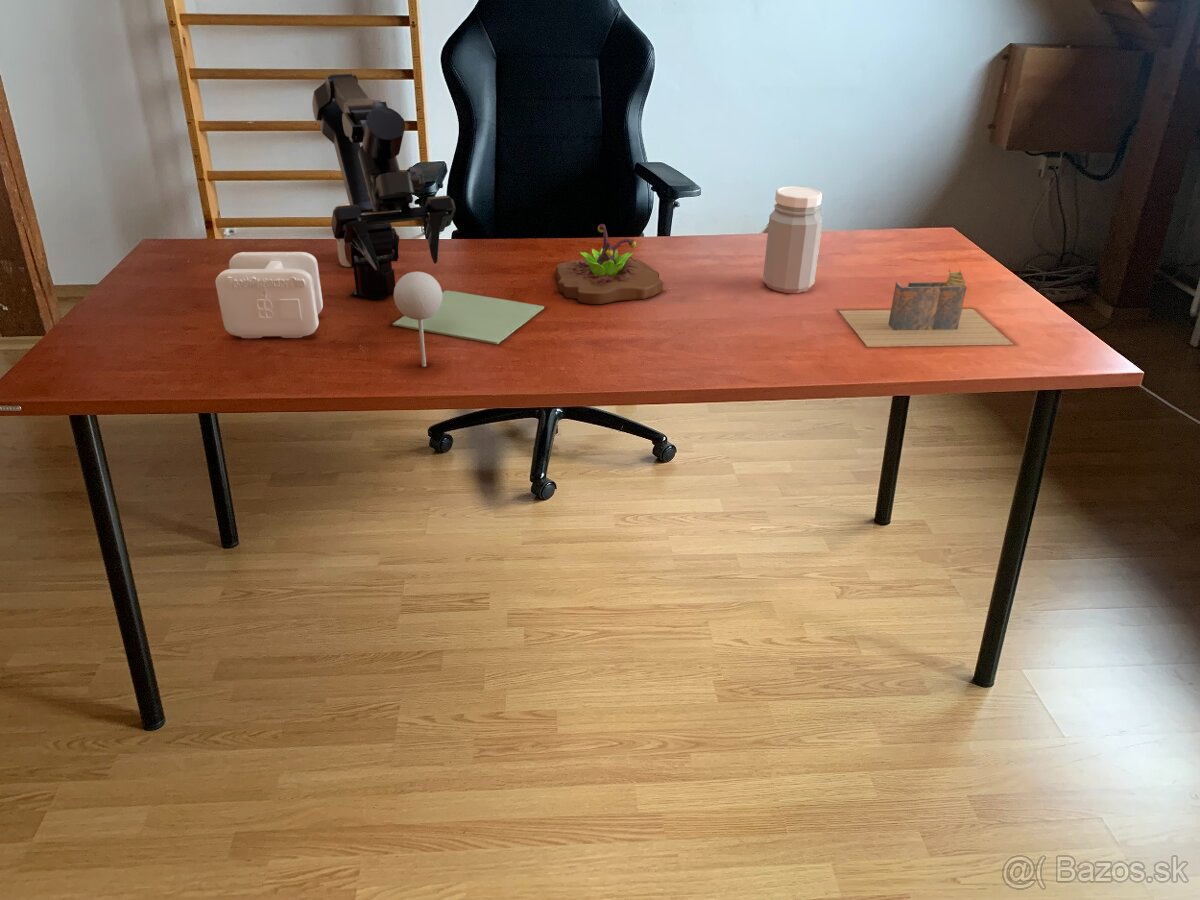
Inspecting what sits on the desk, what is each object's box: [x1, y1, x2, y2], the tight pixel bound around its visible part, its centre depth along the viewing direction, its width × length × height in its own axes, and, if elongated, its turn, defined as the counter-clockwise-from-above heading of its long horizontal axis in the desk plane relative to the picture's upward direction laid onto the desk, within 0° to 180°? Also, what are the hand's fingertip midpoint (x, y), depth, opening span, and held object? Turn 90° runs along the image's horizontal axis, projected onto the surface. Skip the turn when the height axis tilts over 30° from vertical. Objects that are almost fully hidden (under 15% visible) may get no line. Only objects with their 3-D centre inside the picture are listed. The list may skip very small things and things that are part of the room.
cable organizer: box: [214, 251, 324, 339], centre depth 155 cm, size 15×11×12 cm
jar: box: [762, 185, 824, 294], centre depth 175 cm, size 10×10×18 cm
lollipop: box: [393, 271, 443, 368], centre depth 142 cm, size 7×7×15 cm
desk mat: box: [392, 289, 545, 345], centre depth 164 cm, size 20×18×1 cm
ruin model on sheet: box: [838, 269, 1015, 348], centre depth 160 cm, size 25×16×10 cm, turn 94°
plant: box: [555, 223, 664, 305], centre depth 176 cm, size 20×20×11 cm
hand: (407, 266), depth 146 cm, fingers open, 9 cm apart
